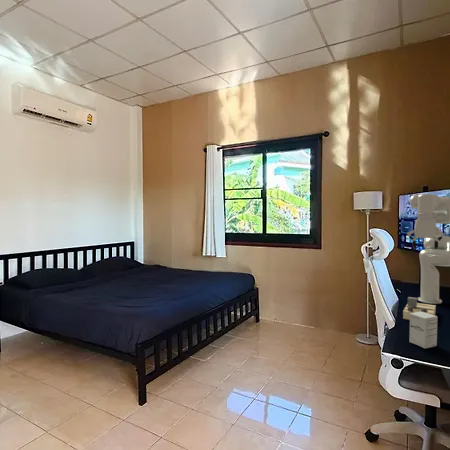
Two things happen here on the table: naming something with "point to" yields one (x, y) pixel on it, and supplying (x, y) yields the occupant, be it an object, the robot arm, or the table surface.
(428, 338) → the supplement box
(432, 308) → the fader console
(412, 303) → the fader tab
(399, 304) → the table surface
